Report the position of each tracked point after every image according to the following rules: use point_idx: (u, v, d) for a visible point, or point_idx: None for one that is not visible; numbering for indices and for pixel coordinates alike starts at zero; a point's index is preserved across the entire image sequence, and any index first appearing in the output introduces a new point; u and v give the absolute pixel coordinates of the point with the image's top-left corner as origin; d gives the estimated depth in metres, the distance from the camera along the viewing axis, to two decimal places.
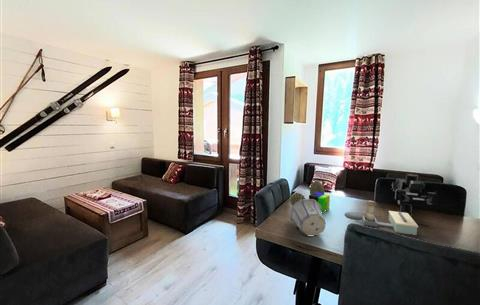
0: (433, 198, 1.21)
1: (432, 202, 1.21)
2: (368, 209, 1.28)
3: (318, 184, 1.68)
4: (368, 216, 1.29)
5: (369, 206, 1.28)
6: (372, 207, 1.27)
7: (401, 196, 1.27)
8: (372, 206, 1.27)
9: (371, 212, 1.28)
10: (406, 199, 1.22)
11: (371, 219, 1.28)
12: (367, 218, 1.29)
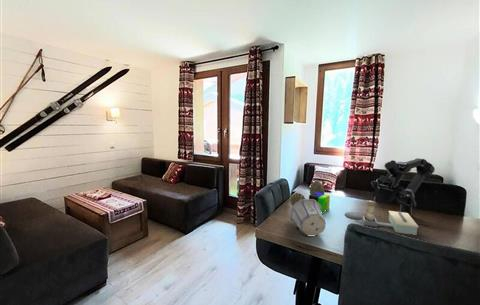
0: (398, 193, 1.26)
1: (400, 196, 1.27)
2: (368, 209, 1.28)
3: (318, 184, 1.68)
4: (368, 216, 1.29)
5: (369, 206, 1.28)
6: (372, 207, 1.27)
7: None
8: (372, 206, 1.27)
9: (371, 212, 1.28)
10: None
11: (371, 219, 1.28)
12: (367, 218, 1.29)
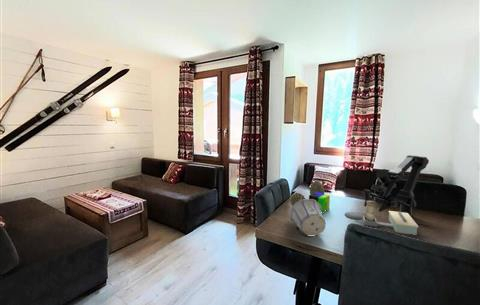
0: (390, 203, 1.24)
1: (391, 205, 1.25)
2: (368, 209, 1.28)
3: (318, 184, 1.68)
4: (368, 216, 1.29)
5: (369, 206, 1.28)
6: (372, 207, 1.27)
7: None
8: (372, 206, 1.27)
9: (371, 212, 1.28)
10: None
11: (371, 219, 1.28)
12: (367, 218, 1.29)
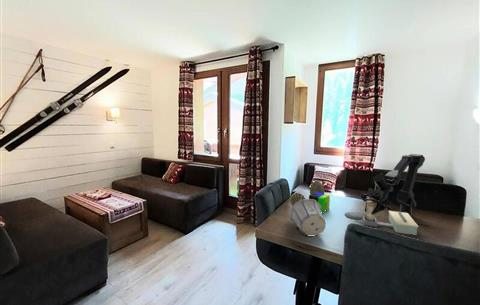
0: (382, 206, 1.25)
1: (383, 208, 1.26)
2: (368, 209, 1.28)
3: (318, 184, 1.68)
4: (368, 216, 1.29)
5: (369, 206, 1.28)
6: (372, 207, 1.27)
7: None
8: (372, 206, 1.27)
9: (371, 212, 1.28)
10: None
11: (371, 219, 1.28)
12: (367, 218, 1.29)
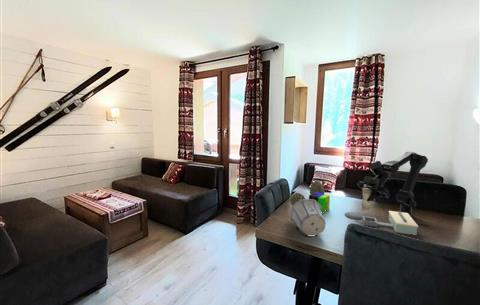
0: (378, 193, 1.27)
1: (379, 195, 1.28)
2: (364, 196, 1.30)
3: (318, 184, 1.68)
4: (364, 203, 1.30)
5: (365, 193, 1.29)
6: (368, 194, 1.29)
7: None
8: (368, 193, 1.29)
9: None
10: None
11: (367, 206, 1.30)
12: (363, 205, 1.31)
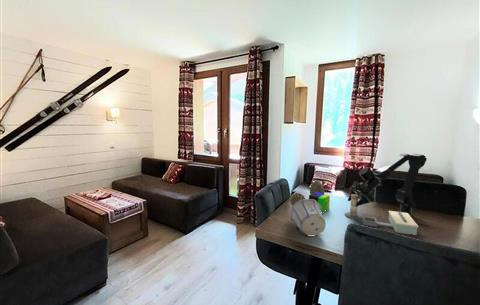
0: (366, 199, 1.32)
1: (368, 201, 1.33)
2: (351, 201, 1.39)
3: (318, 184, 1.68)
4: (351, 208, 1.40)
5: (352, 199, 1.39)
6: (355, 200, 1.38)
7: None
8: (355, 199, 1.38)
9: (354, 204, 1.38)
10: None
11: (354, 211, 1.39)
12: (350, 210, 1.40)
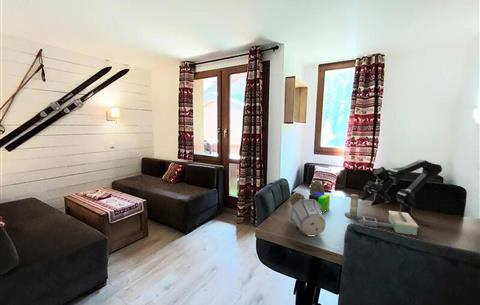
0: (381, 198, 1.32)
1: (384, 201, 1.33)
2: (351, 202, 1.39)
3: (318, 184, 1.68)
4: (351, 208, 1.40)
5: (352, 199, 1.39)
6: (354, 200, 1.38)
7: None
8: (354, 199, 1.38)
9: (353, 205, 1.38)
10: None
11: (353, 211, 1.39)
12: (350, 210, 1.40)
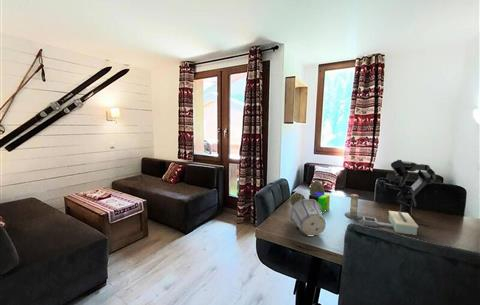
0: (406, 192, 1.27)
1: (407, 195, 1.28)
2: (351, 202, 1.39)
3: (318, 184, 1.68)
4: (351, 208, 1.40)
5: (352, 199, 1.39)
6: (354, 200, 1.38)
7: None
8: (354, 199, 1.38)
9: (353, 205, 1.38)
10: None
11: (353, 211, 1.39)
12: (350, 210, 1.40)
